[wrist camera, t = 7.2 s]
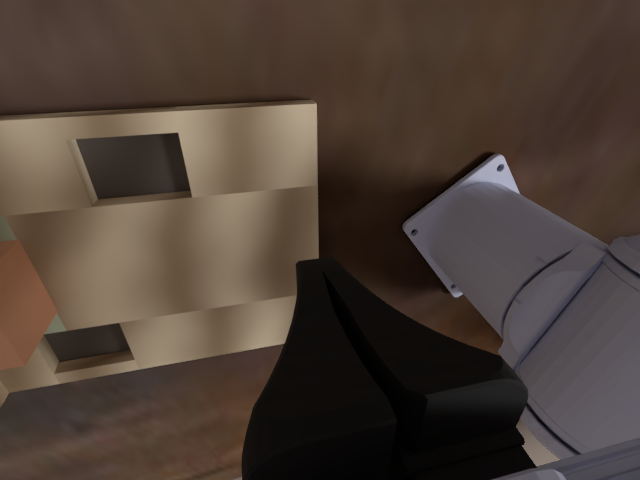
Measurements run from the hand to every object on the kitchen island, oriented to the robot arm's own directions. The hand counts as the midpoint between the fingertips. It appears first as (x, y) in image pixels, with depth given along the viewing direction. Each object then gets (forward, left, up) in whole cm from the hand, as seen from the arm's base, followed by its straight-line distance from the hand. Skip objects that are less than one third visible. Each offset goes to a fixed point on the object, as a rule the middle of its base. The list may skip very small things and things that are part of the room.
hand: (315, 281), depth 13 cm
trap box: (+2, +10, -10) cm, 14 cm away
